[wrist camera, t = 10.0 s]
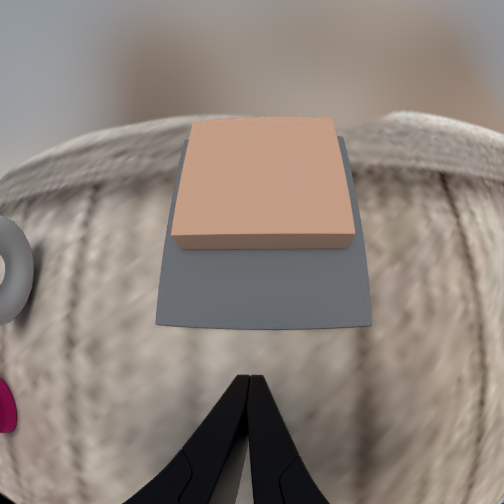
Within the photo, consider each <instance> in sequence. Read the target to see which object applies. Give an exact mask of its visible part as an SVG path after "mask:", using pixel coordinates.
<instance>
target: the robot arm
mask: <svg viewBox="0 0 504 504" xmlns="http://www.w3.org/2000/svg"><path fill="white" fill-rule="evenodd" d="M248 441H249V451H250V464H251V476H252V488H253V500H254V504H330V503H329V502H328V501H327V499H326V498H325V497H324V495H323V494H322V493H321V491H320V490H319V488H318V487H317V485H316V484H315V482H314V481H313V479H312V478H311V476H310V474H309V472H308V470H307V469H306V467H305V465H304V463H303V461H302V459H301V457H300V456H299V453H298V451H297V448H296V446H295V444H294V442H293V440H292V438H291V436H290V434H289V431H288V429H287V427H286V425H285V423H284V420H283V418H282V416H281V414H280V412H279V409H278V407H277V405H276V403H275V401H274V398H273V396H272V394H271V391H270V389H269V387H268V385H267V382H266V380H265V378H264V376H263V375H251V376H250V375H237V376H236V377H235V379H234V380H233V381H232V383H231V384H230V386H229V387H228V388H227V390H226V391H225V392H224V394H223V395H222V396H221V398H220V399H219V401H218V402H217V403H216V405H215V406H214V407H213V409H212V410H211V411H210V412H209V414H208V415H207V416H206V418H205V419H204V420H203V422H202V423H201V424H200V426H199V427H198V428H197V429H196V431H195V432H194V433H193V434H192V436H191V437H190V438H189V440H188V441H187V442H186V443H185V444H184V446H183V447H182V449H181V450H180V451H179V452H178V453H177V454H176V455H175V457H174V458H173V459H172V460H171V461H170V462H169V463H168V465H167V466H166V467H165V468H164V469H163V470H162V471H161V472H160V473H159V474H158V475H156V476H155V477H154V478H153V479H152V480H151V481H150V482H149V483H147V484H146V485H145V486H144V487H143V488H142V489H140V490H139V491H138V492H137V493H136V494H134V495H133V496H132V497H131V498H129V499H128V500H127V501H125V502H124V503H122V504H235V502H236V498H237V493H238V489H239V484H240V479H241V475H242V470H243V465H244V461H245V456H246V451H247V446H248ZM0 504H16V503H15V502H14V501H12V500H11V499H9V498H8V497H7V496H5V495H4V494H2V493H1V492H0Z"/></svg>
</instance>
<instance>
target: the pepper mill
mask: <svg viewBox="0 0 504 504" xmlns="http://www.w3.org/2000/svg"><path fill="white" fill-rule="evenodd" d="M16 421H17V414H16V407H15V403H14V400H13V397H12V395H11V392H10V390H9V388H8V387H7V385H6V384H5V382H4V381H3V380H1V379H0V433H5V432H12V431H13V430H14V428H15V426H16Z"/></svg>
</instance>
